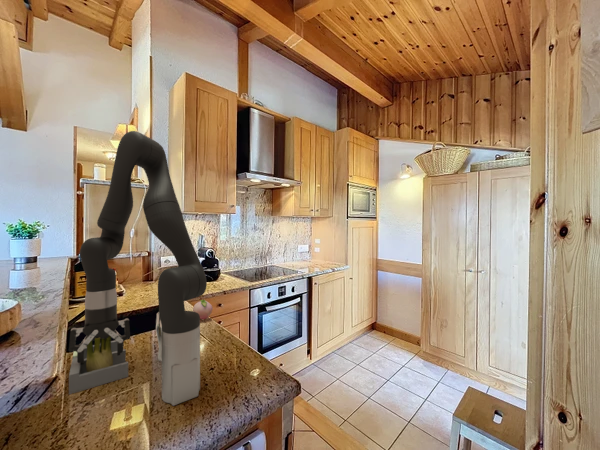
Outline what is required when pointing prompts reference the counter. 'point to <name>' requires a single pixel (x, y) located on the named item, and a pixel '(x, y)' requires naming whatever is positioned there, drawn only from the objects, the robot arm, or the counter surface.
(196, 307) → the decorative fruit
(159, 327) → the beer glass
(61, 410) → the counter surface
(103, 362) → the fennel bulb
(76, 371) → the comb rack
